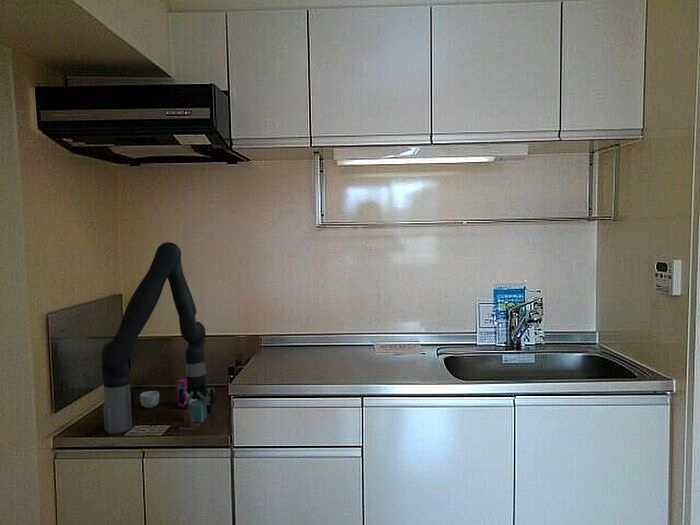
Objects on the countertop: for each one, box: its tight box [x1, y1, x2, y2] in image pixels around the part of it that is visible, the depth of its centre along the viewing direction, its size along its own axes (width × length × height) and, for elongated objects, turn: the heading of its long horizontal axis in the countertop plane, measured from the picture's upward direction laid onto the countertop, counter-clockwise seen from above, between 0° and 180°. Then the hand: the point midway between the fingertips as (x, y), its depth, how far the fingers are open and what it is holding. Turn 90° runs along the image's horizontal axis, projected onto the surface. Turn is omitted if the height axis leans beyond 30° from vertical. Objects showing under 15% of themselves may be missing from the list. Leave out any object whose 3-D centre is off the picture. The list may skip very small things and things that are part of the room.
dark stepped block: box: [178, 409, 201, 431], centre depth 219 cm, size 6×6×6 cm
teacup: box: [139, 390, 160, 409], centre depth 244 cm, size 10×8×5 cm
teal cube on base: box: [188, 400, 208, 423], centre depth 227 cm, size 5×5×7 cm
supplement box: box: [176, 378, 198, 410], centre depth 243 cm, size 6×6×12 cm
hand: (198, 413), depth 228 cm, fingers open, 8 cm apart
